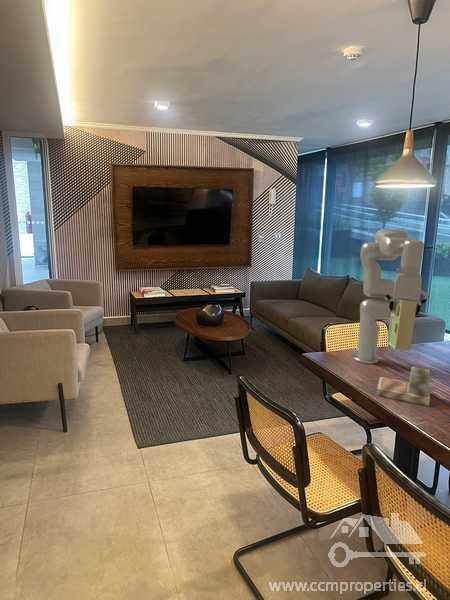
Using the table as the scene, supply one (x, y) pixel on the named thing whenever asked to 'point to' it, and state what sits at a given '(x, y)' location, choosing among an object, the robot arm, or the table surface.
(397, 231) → the robot arm
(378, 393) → the board
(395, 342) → the toy refrigerator
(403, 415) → the table surface
